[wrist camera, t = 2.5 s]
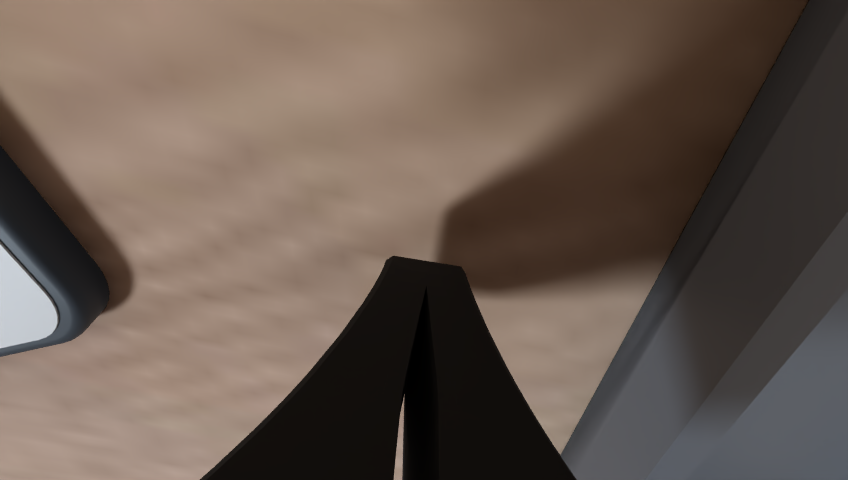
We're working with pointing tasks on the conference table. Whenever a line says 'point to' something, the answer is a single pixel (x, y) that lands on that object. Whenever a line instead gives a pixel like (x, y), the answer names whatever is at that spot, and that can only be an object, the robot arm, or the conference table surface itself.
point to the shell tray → (747, 301)
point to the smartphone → (41, 271)
